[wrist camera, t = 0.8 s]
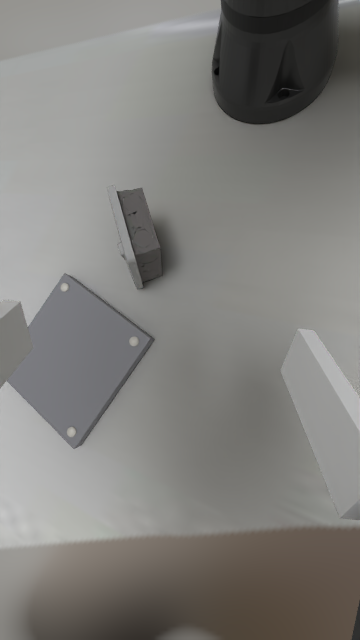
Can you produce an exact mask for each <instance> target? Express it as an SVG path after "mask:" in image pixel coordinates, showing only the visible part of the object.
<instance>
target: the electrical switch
mask: <svg viewBox="0 0 360 640" xmlns="http://www.w3.org/2000/svg"><path fill="white" fill-rule="evenodd" d="M107 190H108V195H109V199H110V203H111V207H112V210H113V214H114V218H115V221H116V225H117V229H118V232H119V236H120V240H121V242H119V243H118V248H119V252H120V254H121V256H122V257H123V258H124V259H125V260H126V261H127V265H128V268H129V270H130V273H131V276H132V278H133V281H134V283H135V285H136V287H137V289H140V288H143V283H142V282H144V281H148V280H151V279H153V278H157V277H160V276H162V264H161V250H160V249H159V248H160V245H159V242H158V239H157V235H156V232H155V229H154V226H153V222H152V219H151V216H150V212H149V209H148V206H147V203H146V199H145V196H144V193H143V190H142V188H138V189H134V190H125V191H116V188H115V185H112V186H110V187H107ZM155 249H156V250H155Z"/></svg>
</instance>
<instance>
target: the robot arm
mask: <svg viewBox="0 0 360 640" xmlns="http://www.w3.org/2000/svg"><path fill="white" fill-rule="evenodd" d="M337 48H338V0H221V16H220V21H219V27H218V33H217V38H216V44H215V49H214V55H213V61H212V80H213V89H214V95H215V98H216V100H217V102H218V104H219V105H220V107H221V108H222V109H223V110H224V111H225V112H226V113H227V114H228V115H230V116H232V117H233V118H235V119H238V120H240V121H244V122H248V123H269V122H275V121H279V120H282V119H285V118H287V117H290V116H292V115H294V114H296V113H298V112H299V111H301V110H302V109H304V108H305V107H307V106H308V105H309V104H310V103H311V102H312V101H314V100H315V98H316V97H317V96H318V95H319V94H320V93H321V91H322V90H323V89H324V87H325V85H326V83H327V82H328V79H329V77H330V74H331V71H332V68H333V64H334V61H335V58H336V54H337ZM32 348H33V344H32V341H31V337H30V334H29V330H28V327H27V323H26V320H25V316H24V313H23V309H22V306H21V302H20V301H9V300H3V301H2V302H1V303H0V388H1V387H2V386H3V384H4V383H5V382H6V381H7V379H8V378H9V377H10V376H11V374H12V373H13V372H14V371H15V369H16V368H17V367H18V366H19V364H20V363H21V362H22V361H23V360H24V358H25V357H26V356H27V355H28V353H29V352H30V351H31V350H32ZM280 371H281V373H282V376H283V378H284V381H285V383H286V386H287V388H288V391H289V393H290V396H291V398H292V401H293V403H294V406H295V408H296V411H297V413H298V416H299V418H300V421H301V423H302V426H303V428H304V430H305V433H306V435H307V438H308V440H309V443H310V445H311V448H312V450H313V453H314V455H315V458H316V460H317V463H318V465H319V468H320V470H321V473H322V475H323V478H324V480H325V483H326V485H327V488H328V490H329V493H330V495H331V497H332V500H333V502H334V505H335V507H336V510H337V512H338V515H339V517H340V518H344V519H356V520H360V397H359V396H358V394H357V393H356V391H355V390H354V388H353V387H352V385H351V384H350V383H349V381H348V380H347V378H346V377H345V375H344V374H343V372H342V371H341V369H340V368H339V366H338V365H337V363H336V362H335V360H334V359H333V358H332V356H331V355H330V353H329V352H328V350H327V349H326V347H325V346H324V344H323V343H322V341H321V340H320V338H319V337H318V336H317V334H316V333H315V331H314V330H308V329H297V332H296V334H295V337H294V339H293V341H292V344H291V346H290V348H289V351H288V353H287V356H286V358H285V360H284V363H283V365H282V367H281V370H280ZM352 640H360V602H359V607H358V611H357V616H356V621H355V626H354V631H353V636H352Z"/></svg>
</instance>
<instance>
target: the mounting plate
mask: <svg viewBox="0 0 360 640" xmlns="http://www.w3.org/2000/svg"><path fill="white" fill-rule="evenodd" d="M28 330H29V334H30V337H31V341H32V344H33V348H32V350H31V351H30V352H29V353H28V355H27V356H26V357H25V358H24V360H23V361H22V362H21V363H20V364H19V366H18V367H17V368H16V369H15V371H14V372H13V373H12V374H11V376H10V377H9V378H8V379H7V382H8V383H9V384H10V385H11V386H12V387H13V388H14V389H15V390H16V391H17V392H18V393H19V394H20V395H21V396H22V397H23V398H24V399H25V400H26V401H27V402H28V403H29V404H30V405H31V406H32V407H33V408H34V409H35V410H36V411H37V412H38V413H39V414H40V415H41V416H42V417H43V418H44V419H45V420H46V421H47V422H48V423H49V424H50V425H51V426H52V427H53V428H54V429H55V430H56V431H57V432H58V433H59V434H60V435H61V436H62V437H63V439H64V440H65V441H66V442H67V443H68V444H69V445H70V446H71V447H72V448H73V449H75V448H77V447H79V446H80V445H82V443H83V442H84V440H85V439H86V437H87V436H88V434H89V433H90V432H91V430H92V429H93V427H94V426H95V424H96V423H97V422H98V420H99V419H100V417H101V416H102V414H103V413H104V411H105V410H106V409H107V407H108V406H109V404H110V403H111V401H112V400H113V398H114V397H115V396H116V394H117V393H118V391H119V390H120V388H121V387H122V385H123V384H124V383H125V381H126V380H127V378H128V377H129V375H130V374H131V372H132V371H133V370H134V368H135V367H136V365H137V364H138V362H139V361H140V359H141V358H142V357H143V355H144V354H145V352H146V351H147V349H148V348H149V346H150V345H151V344H152V342H153V341H154V339H153V338H152V337H151V336H149V335H148V334H147V333H145V332H144V331H143V330H141V329H140V328H139V327H138V326H136V325H135V324H134V323H132V322H131V321H130V320H128V319H127V318H126V317H124V316H123V315H122V314H120V313H119V312H118V311H116V310H115V309H114V308H112V307H111V306H110V305H108V304H107V303H106V302H104V301H103V300H102V299H100V298H99V297H98V296H97V295H95V294H94V293H93V292H91V291H90V290H89V289H87V288H86V287H85V286H83V285H82V284H81V283H79V282H78V281H77V280H75V279H74V278H73V277H71V276H69V275H67V274H65V273H64V275H63V276H62V278H61V279H60V281H59V282H58V284H57V285H56V287H55V288H54V290H53V291H52V293H51V294H50V296H49V297H48V298H47V300H46V301H45V303H44V304H43V306H42V307H41V309H40V310H39V312H38V313H37V315H36V316H35V318H34V319H33V321H32V322H31V324H30V325H29V327H28Z"/></svg>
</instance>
